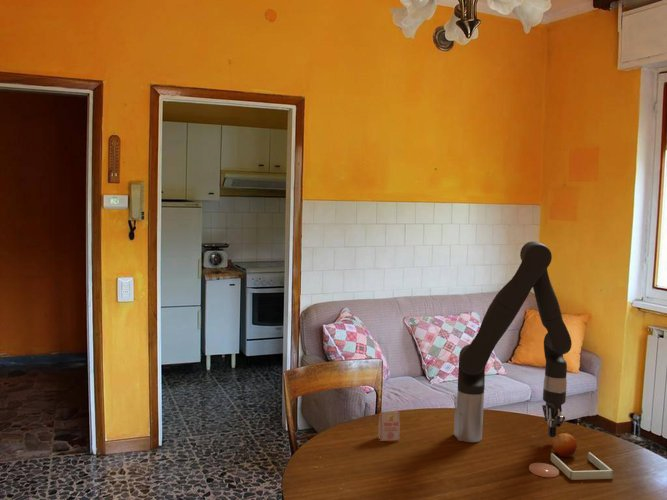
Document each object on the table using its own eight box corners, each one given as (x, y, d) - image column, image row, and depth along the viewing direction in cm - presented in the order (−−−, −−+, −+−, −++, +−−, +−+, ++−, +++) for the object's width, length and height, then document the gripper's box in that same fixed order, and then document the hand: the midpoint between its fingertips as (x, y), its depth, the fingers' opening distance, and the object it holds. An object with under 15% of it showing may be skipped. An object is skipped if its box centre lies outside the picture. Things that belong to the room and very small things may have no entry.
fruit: (584, 456, 203) (572, 435, 203) (561, 466, 205) (550, 445, 205) (579, 447, 211) (568, 426, 211) (558, 456, 213) (546, 435, 213)
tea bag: (378, 437, 218) (378, 410, 217) (396, 436, 219) (397, 409, 218) (380, 441, 214) (381, 413, 213) (399, 441, 215) (400, 413, 214)
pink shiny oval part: (536, 477, 190) (536, 476, 190) (524, 464, 199) (524, 463, 199) (564, 477, 191) (564, 475, 191) (550, 464, 200) (551, 462, 200)
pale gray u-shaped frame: (570, 479, 189) (571, 471, 189) (550, 460, 203) (550, 453, 203) (612, 478, 191) (613, 470, 191) (589, 459, 204) (590, 452, 204)
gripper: (536, 382, 221) (533, 429, 223) (553, 394, 208) (550, 444, 210) (556, 382, 222) (553, 428, 224) (574, 394, 209) (571, 443, 211)
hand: (551, 436), depth 217 cm, fingers closed
